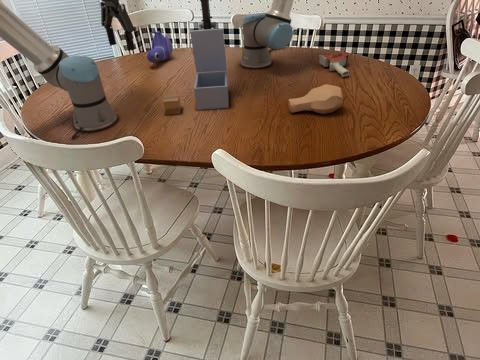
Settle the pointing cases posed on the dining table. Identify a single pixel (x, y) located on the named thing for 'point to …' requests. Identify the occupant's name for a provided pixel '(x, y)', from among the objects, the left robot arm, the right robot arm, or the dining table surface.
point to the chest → (211, 90)
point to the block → (172, 104)
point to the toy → (159, 48)
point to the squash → (319, 100)
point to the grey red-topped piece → (335, 62)
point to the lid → (208, 49)
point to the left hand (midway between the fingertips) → (122, 47)
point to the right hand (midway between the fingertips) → (208, 37)
